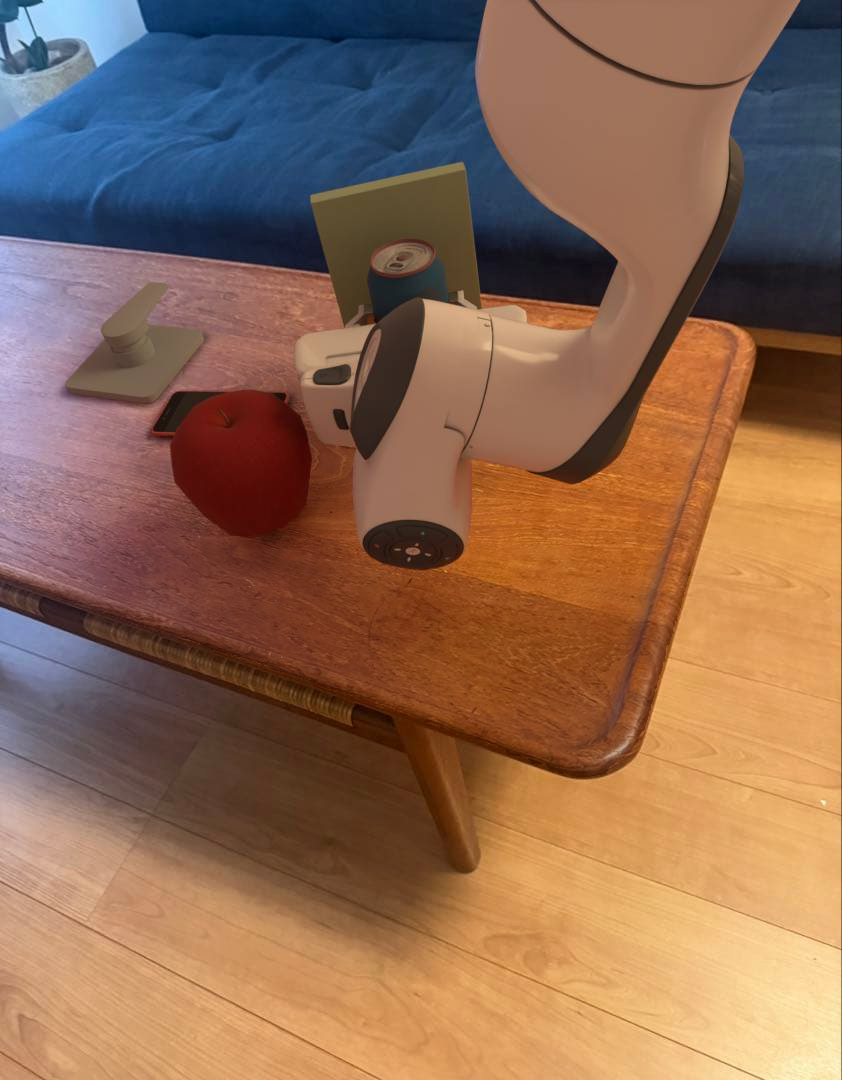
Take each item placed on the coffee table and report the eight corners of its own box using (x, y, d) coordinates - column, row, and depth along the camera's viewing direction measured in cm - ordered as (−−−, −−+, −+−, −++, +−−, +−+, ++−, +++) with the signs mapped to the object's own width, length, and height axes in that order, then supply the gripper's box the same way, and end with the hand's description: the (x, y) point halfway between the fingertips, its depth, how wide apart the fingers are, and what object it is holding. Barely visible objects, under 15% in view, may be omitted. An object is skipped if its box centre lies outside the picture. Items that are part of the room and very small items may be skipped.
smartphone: (270, 436, 83) (147, 433, 86) (271, 440, 83) (149, 437, 87) (290, 391, 87) (173, 389, 90) (292, 395, 87) (175, 393, 91)
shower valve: (202, 284, 95) (132, 365, 86) (218, 323, 99) (152, 404, 90) (116, 277, 99) (41, 354, 90) (135, 316, 103) (65, 392, 95)
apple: (253, 587, 71) (198, 480, 61) (183, 524, 77) (122, 418, 67) (356, 506, 75) (320, 394, 65) (281, 453, 82) (238, 344, 72)
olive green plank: (484, 345, 88) (462, 161, 73) (487, 354, 87) (465, 169, 72) (357, 372, 88) (309, 194, 73) (358, 381, 87) (310, 203, 72)
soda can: (407, 341, 83) (386, 230, 74) (469, 352, 80) (455, 238, 71) (375, 383, 79) (348, 272, 70) (439, 396, 76) (420, 282, 67)
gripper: (539, 352, 62) (523, 256, 72) (280, 386, 65) (295, 289, 74) (543, 415, 67) (527, 317, 76) (301, 445, 69) (313, 347, 78)
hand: (411, 304), depth 75 cm, fingers closed on soda can, 7 cm apart
